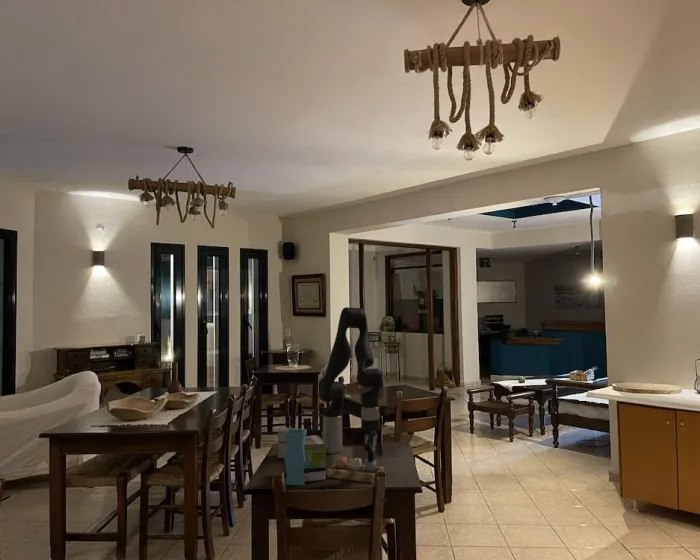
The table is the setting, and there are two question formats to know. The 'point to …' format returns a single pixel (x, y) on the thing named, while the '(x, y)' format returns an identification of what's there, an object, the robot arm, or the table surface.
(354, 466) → the white rounded block
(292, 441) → the vase
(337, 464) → the pink rounded block
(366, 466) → the slate button
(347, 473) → the button board
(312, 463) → the tea box
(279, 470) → the table surface
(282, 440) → the supplement box
